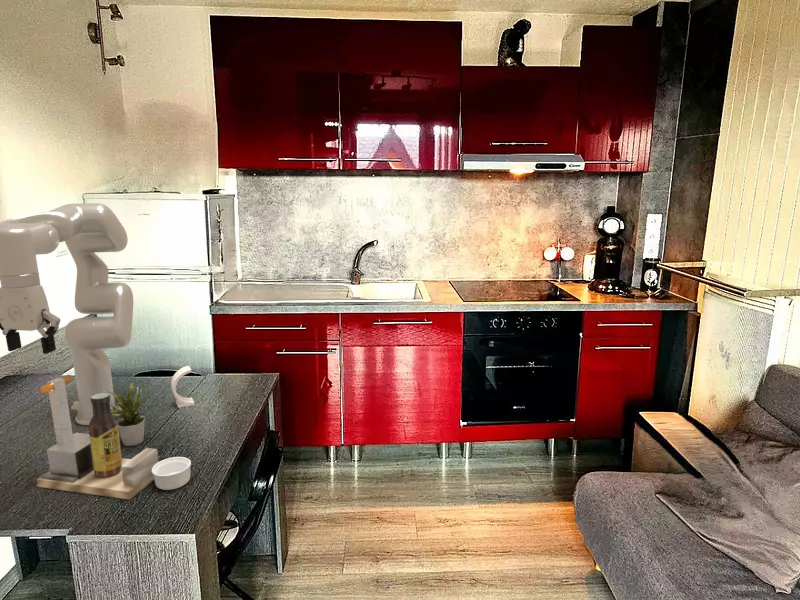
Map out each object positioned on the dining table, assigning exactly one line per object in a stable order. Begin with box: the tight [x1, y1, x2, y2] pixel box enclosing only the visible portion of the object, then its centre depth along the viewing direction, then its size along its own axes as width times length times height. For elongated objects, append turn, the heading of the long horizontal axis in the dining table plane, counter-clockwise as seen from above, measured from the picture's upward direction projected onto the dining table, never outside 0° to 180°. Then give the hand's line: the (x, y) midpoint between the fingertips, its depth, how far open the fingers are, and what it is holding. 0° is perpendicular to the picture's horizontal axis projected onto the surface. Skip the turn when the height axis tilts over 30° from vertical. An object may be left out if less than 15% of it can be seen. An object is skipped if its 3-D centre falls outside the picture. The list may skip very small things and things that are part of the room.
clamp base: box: [36, 447, 160, 500], centre depth 135 cm, size 26×13×7 cm, turn 78°
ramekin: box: [152, 456, 192, 491], centre depth 134 cm, size 9×9×4 cm
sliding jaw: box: [38, 374, 93, 479], centre depth 134 cm, size 8×9×23 cm
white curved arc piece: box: [170, 365, 196, 409], centre depth 177 cm, size 5×6×12 cm
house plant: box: [104, 381, 153, 447], centre depth 153 cm, size 14×14×16 cm
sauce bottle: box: [88, 393, 123, 477], centre depth 132 cm, size 6×6×20 cm
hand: (32, 350), depth 131 cm, fingers open, 9 cm apart
